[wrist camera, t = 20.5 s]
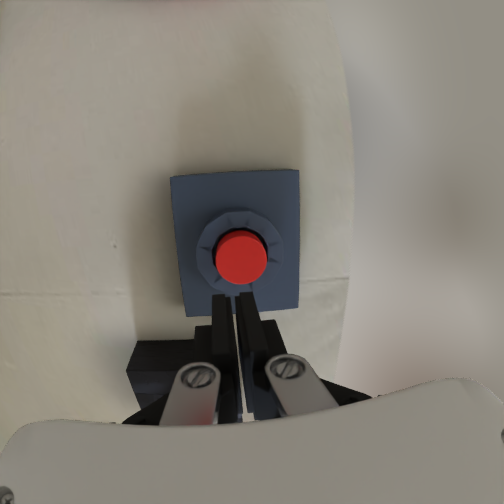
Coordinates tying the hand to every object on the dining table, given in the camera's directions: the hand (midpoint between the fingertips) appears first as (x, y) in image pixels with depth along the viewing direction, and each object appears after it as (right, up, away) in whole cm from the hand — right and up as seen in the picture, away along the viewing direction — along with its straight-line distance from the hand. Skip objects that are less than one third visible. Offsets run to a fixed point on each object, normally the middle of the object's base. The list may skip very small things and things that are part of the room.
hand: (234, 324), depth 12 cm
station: (-1, +4, +13) cm, 14 cm away
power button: (0, +3, +10) cm, 10 cm away
